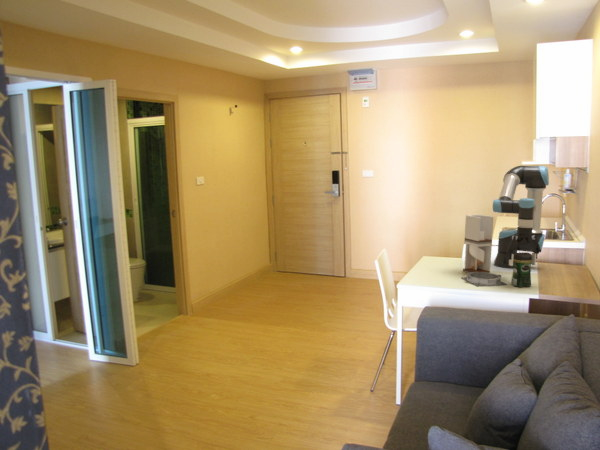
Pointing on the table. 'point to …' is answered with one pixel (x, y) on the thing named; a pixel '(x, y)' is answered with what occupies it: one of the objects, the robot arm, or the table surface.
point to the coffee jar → (522, 270)
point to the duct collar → (483, 279)
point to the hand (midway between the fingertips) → (522, 265)
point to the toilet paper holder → (478, 243)
